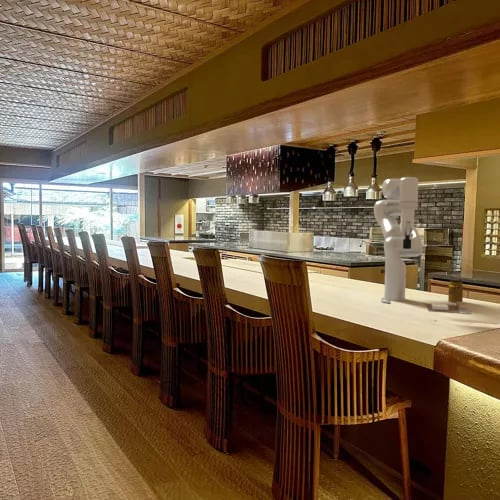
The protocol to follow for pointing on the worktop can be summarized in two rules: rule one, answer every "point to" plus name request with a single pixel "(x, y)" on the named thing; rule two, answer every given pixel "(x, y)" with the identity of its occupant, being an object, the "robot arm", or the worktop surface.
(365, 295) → the worktop surface
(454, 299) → the condiment
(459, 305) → the turner
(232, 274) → the worktop surface
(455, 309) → the board
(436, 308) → the tile
